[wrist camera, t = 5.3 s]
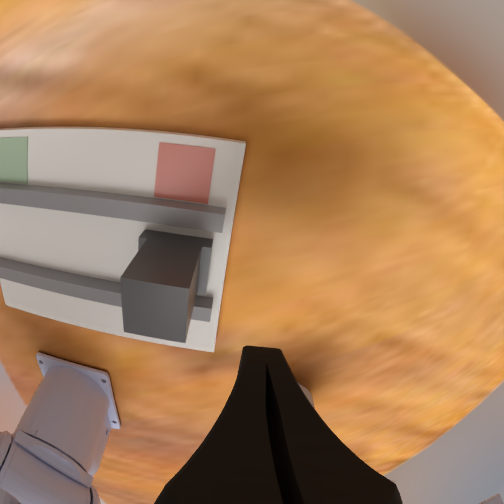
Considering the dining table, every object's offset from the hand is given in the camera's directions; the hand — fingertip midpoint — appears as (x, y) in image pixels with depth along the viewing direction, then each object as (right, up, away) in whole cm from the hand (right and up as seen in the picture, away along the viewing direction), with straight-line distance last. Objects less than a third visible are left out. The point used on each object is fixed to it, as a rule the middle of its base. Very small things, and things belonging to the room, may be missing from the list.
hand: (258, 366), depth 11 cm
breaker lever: (-5, +4, +7) cm, 9 cm away
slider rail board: (-11, +5, +8) cm, 14 cm away
